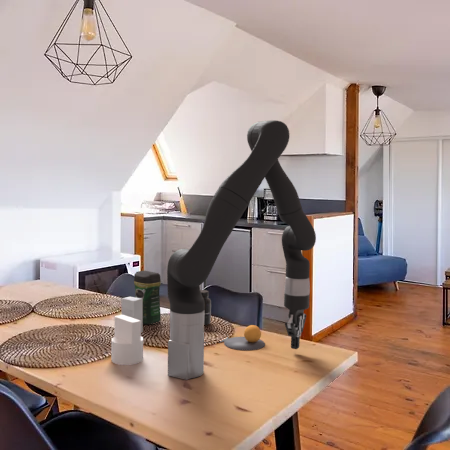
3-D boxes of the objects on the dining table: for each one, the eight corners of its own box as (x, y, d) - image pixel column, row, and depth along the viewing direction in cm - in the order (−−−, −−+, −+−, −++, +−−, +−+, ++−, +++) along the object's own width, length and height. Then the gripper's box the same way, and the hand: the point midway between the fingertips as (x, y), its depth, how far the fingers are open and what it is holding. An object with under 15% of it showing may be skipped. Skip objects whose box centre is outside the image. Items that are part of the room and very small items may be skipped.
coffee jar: (164, 322, 184) (164, 271, 183) (147, 326, 178) (148, 274, 177) (146, 317, 190) (146, 268, 189) (130, 321, 184) (130, 271, 183)
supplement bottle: (208, 327, 179) (208, 293, 178) (189, 325, 180) (189, 292, 179) (212, 322, 186) (213, 289, 185) (194, 320, 187) (194, 288, 186)
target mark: (254, 353, 153) (254, 352, 153) (216, 345, 159) (216, 345, 159) (271, 341, 165) (271, 340, 165) (235, 335, 171) (235, 334, 171)
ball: (257, 345, 160) (256, 328, 159) (241, 344, 162) (240, 327, 162) (264, 340, 165) (263, 323, 164) (249, 339, 167) (247, 322, 167)
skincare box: (143, 333, 170) (143, 298, 169) (134, 336, 167) (134, 301, 166) (129, 330, 174) (129, 296, 172) (120, 333, 170) (120, 298, 169)
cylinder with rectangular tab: (149, 359, 146) (149, 318, 145) (123, 367, 140) (123, 324, 139) (130, 351, 152) (130, 312, 151) (105, 359, 146) (105, 318, 145)
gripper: (301, 297, 145) (299, 357, 146) (315, 289, 156) (313, 344, 158) (277, 294, 148) (275, 352, 150) (292, 286, 160) (291, 340, 161)
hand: (295, 348), depth 154 cm, fingers closed
